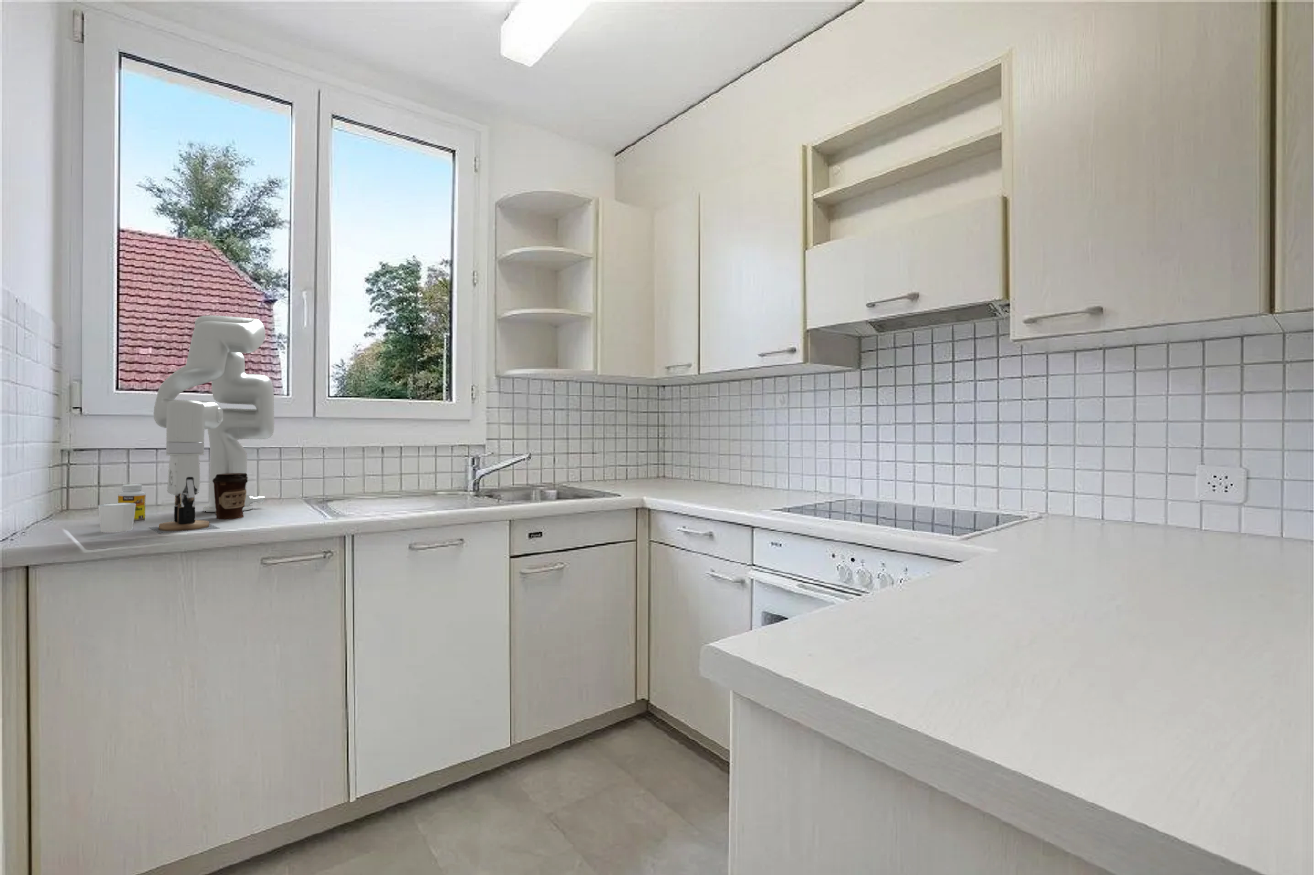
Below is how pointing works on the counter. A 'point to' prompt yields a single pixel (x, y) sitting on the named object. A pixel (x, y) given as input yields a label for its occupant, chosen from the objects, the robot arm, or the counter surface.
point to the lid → (183, 525)
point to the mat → (181, 531)
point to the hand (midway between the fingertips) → (184, 521)
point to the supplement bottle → (134, 499)
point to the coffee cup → (230, 495)
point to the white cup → (116, 517)
